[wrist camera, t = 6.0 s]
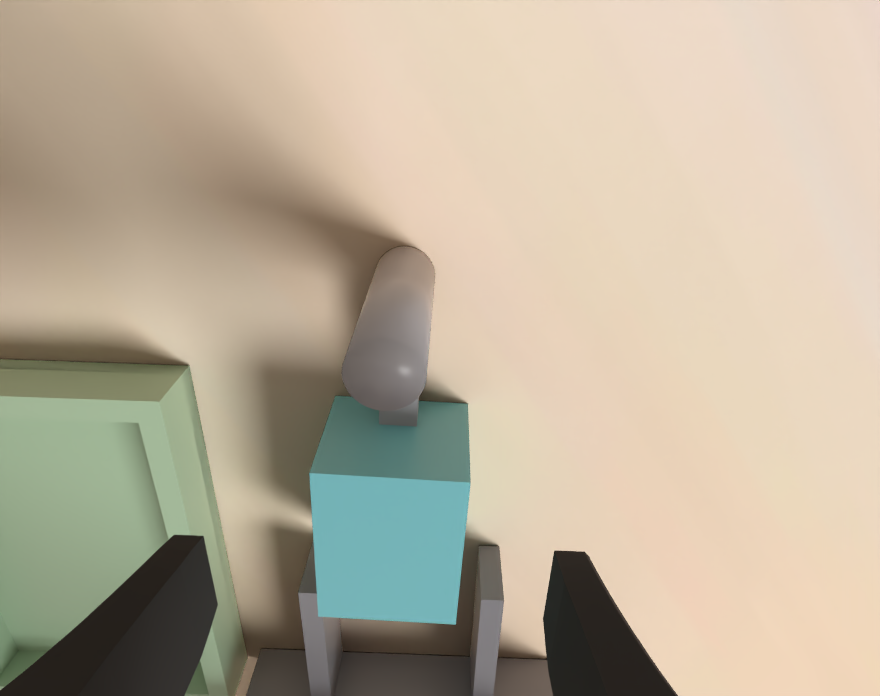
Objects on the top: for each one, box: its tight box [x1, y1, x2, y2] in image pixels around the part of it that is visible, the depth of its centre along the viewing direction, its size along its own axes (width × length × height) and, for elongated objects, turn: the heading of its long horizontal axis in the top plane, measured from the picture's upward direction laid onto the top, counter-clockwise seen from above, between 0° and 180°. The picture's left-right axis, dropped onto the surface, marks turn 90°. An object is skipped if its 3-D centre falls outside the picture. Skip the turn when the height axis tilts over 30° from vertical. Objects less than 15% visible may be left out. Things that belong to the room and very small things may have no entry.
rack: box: [246, 540, 553, 696], centre depth 22 cm, size 8×13×6 cm, turn 88°
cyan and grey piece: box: [309, 246, 470, 625], centre depth 17 cm, size 11×4×6 cm, turn 177°
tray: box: [0, 359, 247, 696], centre depth 22 cm, size 15×11×2 cm
